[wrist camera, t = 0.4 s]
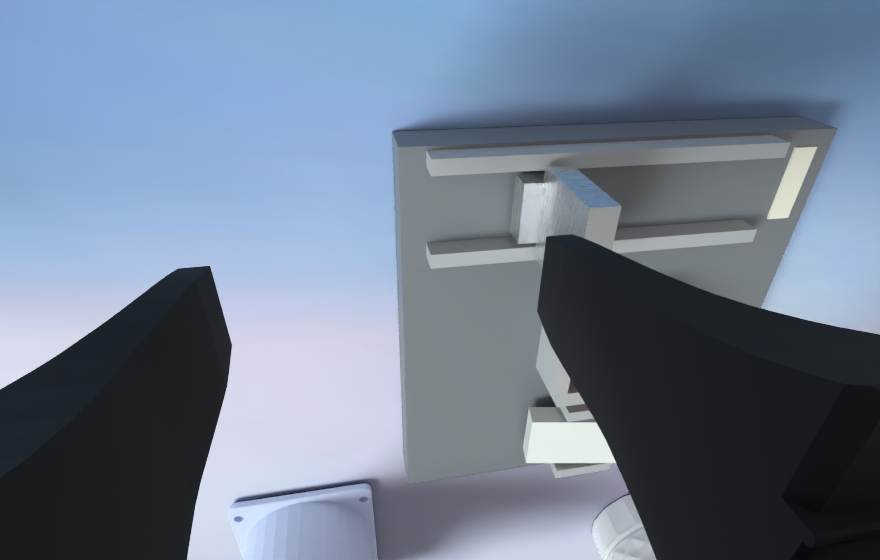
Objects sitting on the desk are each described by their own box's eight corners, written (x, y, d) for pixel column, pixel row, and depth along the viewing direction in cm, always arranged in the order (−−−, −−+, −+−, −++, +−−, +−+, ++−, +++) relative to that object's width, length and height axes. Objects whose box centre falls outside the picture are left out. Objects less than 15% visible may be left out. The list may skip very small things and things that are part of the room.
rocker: (634, 447, 27) (642, 465, 26) (522, 447, 27) (526, 465, 26) (647, 407, 25) (656, 424, 24) (528, 407, 25) (532, 424, 24)
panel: (684, 414, 32) (726, 466, 29) (403, 454, 29) (413, 518, 26) (799, 115, 22) (882, 143, 19) (392, 131, 19) (405, 166, 16)
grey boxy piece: (564, 241, 21) (618, 304, 17) (508, 245, 20) (550, 311, 16) (579, 155, 19) (643, 204, 15) (517, 158, 18) (567, 209, 15)
